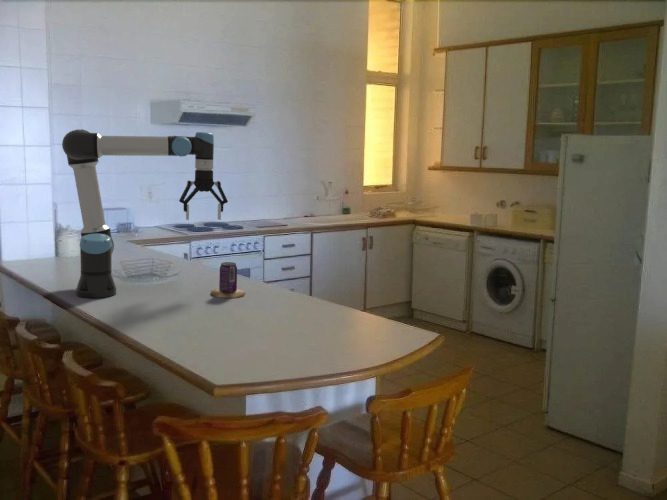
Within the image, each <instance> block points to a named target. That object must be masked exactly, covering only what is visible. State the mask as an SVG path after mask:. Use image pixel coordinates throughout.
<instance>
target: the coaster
mask: <svg viewBox="0 0 667 500" xmlns="http://www.w3.org/2000/svg"><path fill="white" fill-rule="evenodd" d="M210 295H211V296H212V297H215V298H221V299H239V298H242V297H245V296H246V292H245V291H244V290H243V289H238V288H237V291H235V292H234V293H223V292H221V291H219V288H216V289H213V290H211V291H210Z"/></svg>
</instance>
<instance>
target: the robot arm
mask: <svg viewBox="0 0 667 500" xmlns="http://www.w3.org/2000/svg"><path fill="white" fill-rule="evenodd" d="M214 140H215V139H214V134H213V133H212V132H199V131H198V132H195V136H186V135H185V136H184V135H183V136H182V135H167V136H152V135H151V136H149V135H148V136H146V135H145V136H142V135H139V136H138V135H137V136H136V135H101V134H100V133H99V132H90V131H88V130H87V129H83V128H82V129H74V130H70V131H69V132H67V133H66V134H65V136H64V137H63V138H62V142H61V145H62V147H61V148H62V150H63V152H64V153H65V155H66V159H67V164H68V166H69V167H70V168H72V171H73V175H74V180H75V181H74V182H75V186H76V192H77V198H78V203H79V207H80V208H79V209H80V214H81V219H82V220H81V221H82V225H83V227H82V229H81V230H80V240H79V241H80V242H79V247H80V276H79V279H78V283H77V284H76V291H75V293H76V296H78V297H81V298H88V299H102V298H109V297H113V296H115V295H116V294H117V286H116V283H115V280H114V277H113V274H112V255H113V252H114V249H115V242H114V239H113V238H112V232H111V227H110V226H109V225H107V224H106V220H105V215H104V214H105V213H104V209H103V202H102V197H101V191H100V185H99V180H98V173H97V169H96V166H97V164H98V163H99V159H100V158H101V157H103V156H119V157H120V156H121V157H122V156H127V157H128V156H135V157H136V156H143V157H144V156H148V157H151V156H153V157H154V156H159V157H160V156H163V157H165V156H167V157H174V156H175V157H186V156H188V155H191V156H195V159H194V160H195V161H194V163H195V164H194V169H195V170H194V172H195V173H194V181H191V180H187V181H186V187H185V188H184V190H183V192H182V194H181V196H180V198H179V200H178V201H179V203H182V204H183V212H184V213H185V220H186V221H189V220H190V204H189V202H190V201H191V200H192V199H193V198H194V196H196V194H197V193H198V192H206V193H207V192H210V193H211V194H212V196H213V197H214V198H215V199H216V200H217V202H218V203H217V220H218V221H220V220H222V219H221V217H222V213H223V211H224V205H225V204H227V203H228V199H227V196H226V195H225V193H224V190H223V188H222V183H221V181H219V180H217V181H214V170H213V169H214V152H215V151H214V146H215V145H214V144H215V142H214ZM193 185H194V186H195V187H194V189H193V190H192V191H191V192H190V193H189V195H188V192H189V191H190V189H191V187H192V186H193ZM214 186H215V187H216V188H217V190H218V192H219V194H220V195H218V194H217V192H216V191H215V189H213V187H214ZM220 196H221V197H220Z"/></svg>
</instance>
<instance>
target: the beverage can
mask: <svg viewBox="0 0 667 500" xmlns="http://www.w3.org/2000/svg"><path fill="white" fill-rule="evenodd" d="M218 289H219V291H221V292H223V293H234V292H235V291H237V289H238V266H237V263H236V262H232V261H224V262H221V263H220V266H219V288H218Z"/></svg>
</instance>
